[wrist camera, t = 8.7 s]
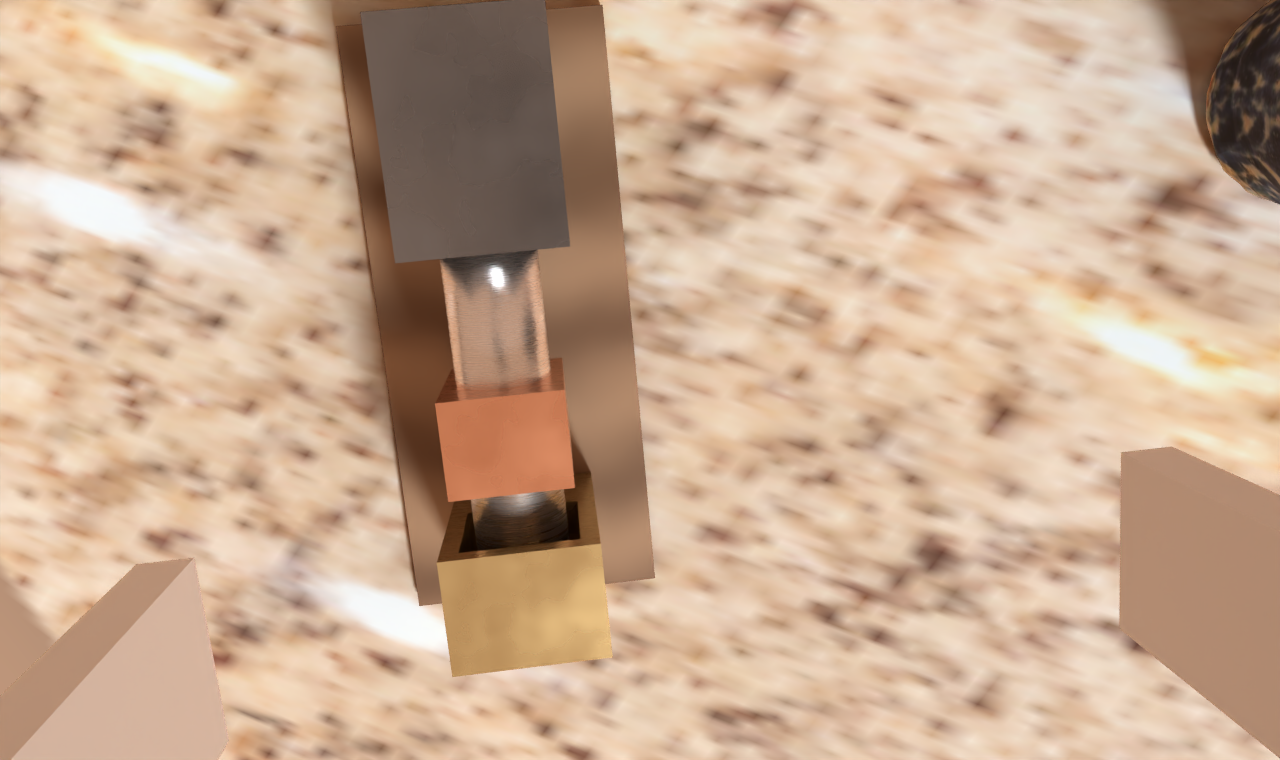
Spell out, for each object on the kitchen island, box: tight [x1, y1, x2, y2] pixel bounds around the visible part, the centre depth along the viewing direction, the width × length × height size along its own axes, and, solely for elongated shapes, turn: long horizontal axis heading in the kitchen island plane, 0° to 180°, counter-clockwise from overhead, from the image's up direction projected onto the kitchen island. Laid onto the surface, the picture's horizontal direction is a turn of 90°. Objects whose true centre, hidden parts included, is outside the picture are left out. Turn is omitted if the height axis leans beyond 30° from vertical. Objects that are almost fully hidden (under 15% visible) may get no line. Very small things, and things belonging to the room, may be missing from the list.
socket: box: [437, 472, 612, 677], centre depth 47 cm, size 5×7×11 cm
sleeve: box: [360, 0, 570, 263], centre depth 43 cm, size 9×7×11 cm
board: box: [336, 5, 655, 606], centre depth 50 cm, size 28×12×1 cm, turn 5°
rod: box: [435, 250, 575, 551], centre depth 43 cm, size 17×5×7 cm, turn 5°
